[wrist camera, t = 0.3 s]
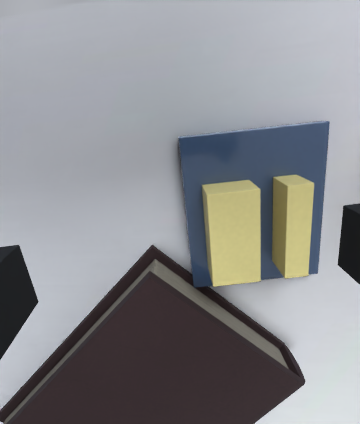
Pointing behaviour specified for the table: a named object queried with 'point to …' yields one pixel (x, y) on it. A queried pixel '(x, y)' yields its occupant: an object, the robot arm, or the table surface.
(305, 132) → the butter dish
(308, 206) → the butter pat
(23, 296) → the robot arm
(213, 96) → the table surface
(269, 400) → the book
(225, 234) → the butter block
